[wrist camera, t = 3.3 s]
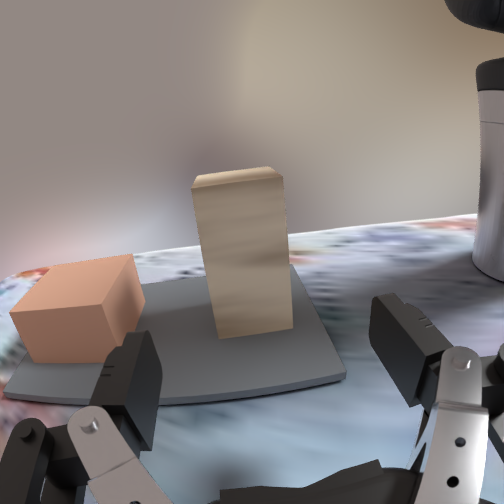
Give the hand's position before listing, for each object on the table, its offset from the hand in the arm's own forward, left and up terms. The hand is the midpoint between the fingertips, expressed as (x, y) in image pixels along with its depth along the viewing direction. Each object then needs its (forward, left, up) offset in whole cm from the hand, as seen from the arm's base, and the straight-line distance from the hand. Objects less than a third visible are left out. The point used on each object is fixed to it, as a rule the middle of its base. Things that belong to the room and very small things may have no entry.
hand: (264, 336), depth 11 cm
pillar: (-6, -9, -6) cm, 12 cm away
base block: (+4, -16, -6) cm, 18 cm away
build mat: (0, -13, -7) cm, 14 cm away
